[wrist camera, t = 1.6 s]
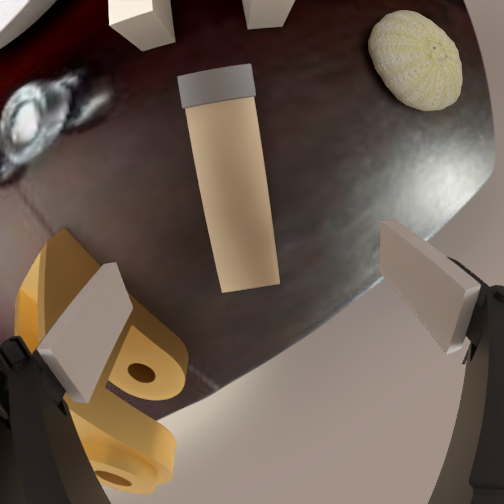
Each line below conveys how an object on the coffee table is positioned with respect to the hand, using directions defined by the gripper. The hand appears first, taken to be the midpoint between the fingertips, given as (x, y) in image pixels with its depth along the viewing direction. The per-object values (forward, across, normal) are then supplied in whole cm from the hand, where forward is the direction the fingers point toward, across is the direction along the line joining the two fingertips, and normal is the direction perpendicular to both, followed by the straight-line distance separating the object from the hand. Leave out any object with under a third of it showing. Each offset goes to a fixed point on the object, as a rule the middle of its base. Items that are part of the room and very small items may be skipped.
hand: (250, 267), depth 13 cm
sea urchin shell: (+12, +16, +9) cm, 22 cm away
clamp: (+11, -16, -10) cm, 22 cm away
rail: (+11, 0, +3) cm, 11 cm away
